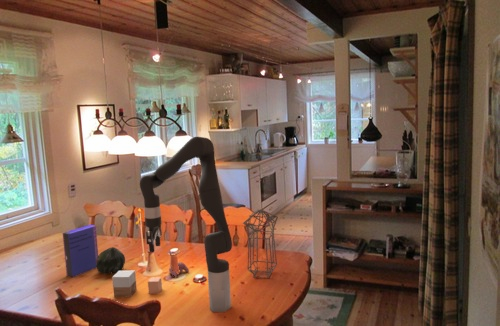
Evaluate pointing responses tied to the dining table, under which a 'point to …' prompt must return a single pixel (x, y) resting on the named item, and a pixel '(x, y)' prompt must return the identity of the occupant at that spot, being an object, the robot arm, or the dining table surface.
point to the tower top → (124, 278)
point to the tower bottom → (125, 291)
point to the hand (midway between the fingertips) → (155, 248)
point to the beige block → (154, 285)
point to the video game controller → (181, 268)
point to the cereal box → (80, 250)
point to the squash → (110, 261)
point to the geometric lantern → (261, 238)
